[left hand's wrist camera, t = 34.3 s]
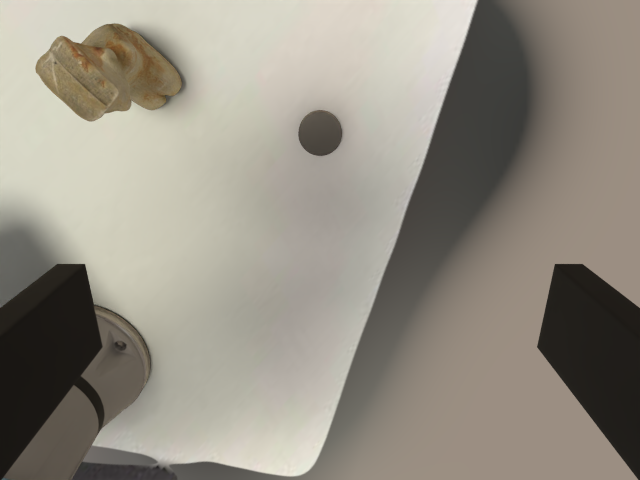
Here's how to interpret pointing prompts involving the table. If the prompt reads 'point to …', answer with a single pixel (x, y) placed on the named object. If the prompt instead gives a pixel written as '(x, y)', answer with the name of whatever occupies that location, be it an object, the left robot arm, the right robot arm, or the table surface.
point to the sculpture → (107, 72)
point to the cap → (320, 133)
